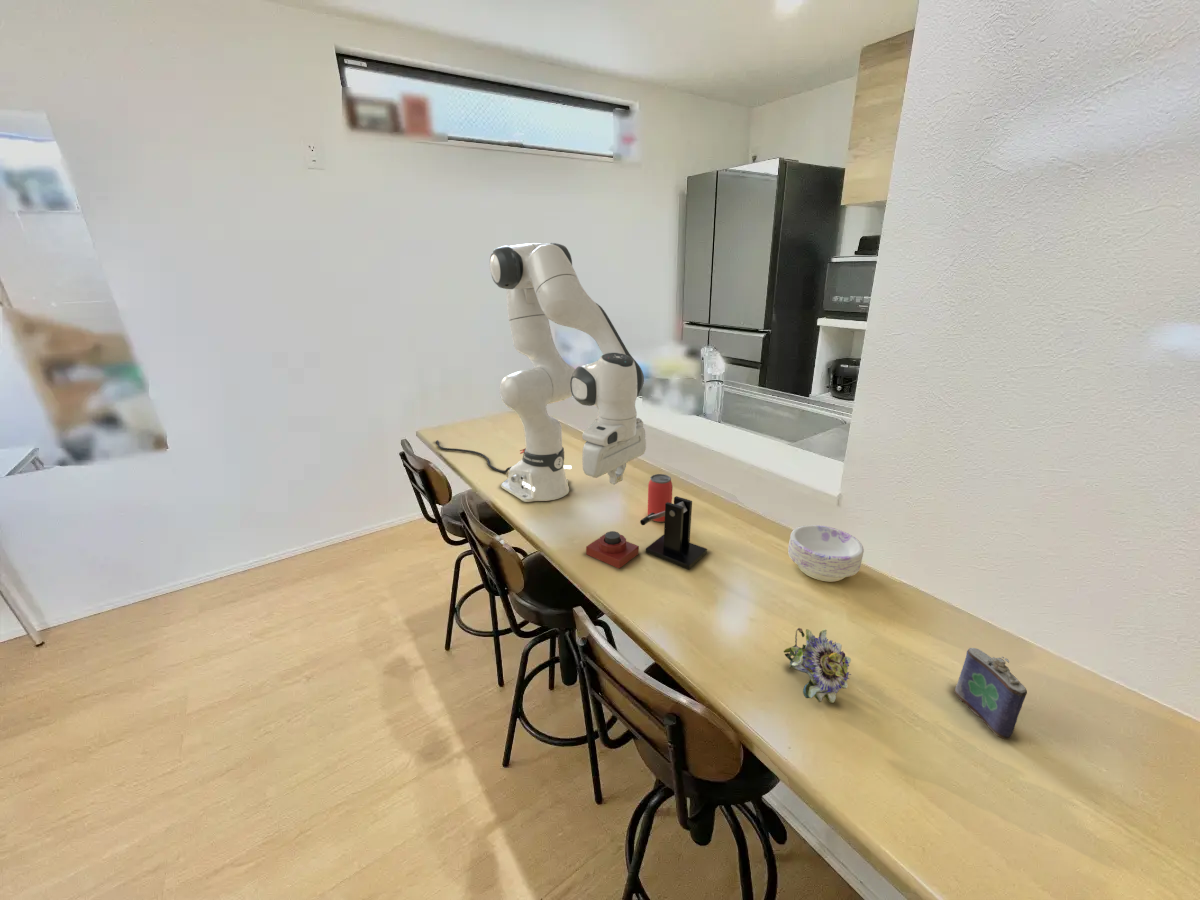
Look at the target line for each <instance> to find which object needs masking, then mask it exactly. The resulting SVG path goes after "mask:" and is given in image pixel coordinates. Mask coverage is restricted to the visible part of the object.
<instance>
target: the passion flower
mask: <svg viewBox="0 0 1200 900" xmlns="http://www.w3.org/2000/svg"><path fill="white" fill-rule="evenodd" d="M827 631H828V630H827V629H826V628H823V629H822V630H821V631H819V634H818V637H816V635H815V634H813V632H812V630H811V629H808V628H806V630H805V632H804V631H803V628H800V627H798V628H797V629H796V631H795V637H794V639H795V641H794V645H793V646H791V647H788V648H785V649H784V650H783V653H784V656H785V657H786V658H787V659H788V660H789V669H793V670H795V671H798V672H800V673H804V674H807V676H808V677H809V680H808V682H807V684H805V685H804V687H803V689H802V693H803V696H804V697H805V699H812V698H813V697H815V698H814V699H816V700H817V702H818V703H822V701H823V698H825V699H826V700H827V702H829V703H830V704H834V703H835V702H836V698H837V693H838V692H839V690H841V689H847V688H848V680H850V678H849V676H851V675H852V674H851V673H850V671H848V670H849V667H850V663H851V662H852V659H851V657H850V656H847V655H846V653H845V652H844V650H842V647H843V644H841V643H840V642H836V641H835V642H833V640H832V639H830V640H829V638H828V637H827ZM798 632H799V633H800V635H801V637H802V638H804V637H805V644H804V643H803V644H802V646H801V647H800V646H798V638H797V637H798ZM828 640H829V641H828Z"/></svg>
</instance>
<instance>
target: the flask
mask: <svg viewBox="0 0 1200 900" xmlns="http://www.w3.org/2000/svg"><path fill="white" fill-rule="evenodd" d="M1007 663H1010V660H1009V658H1006V657H1004V656H1001V657H995V656H990V655H989V654H987V653H986V652H984V651H983V650H981V649H979V648H975V647H969V648H968V649H967V651H966V654H965V659H964V662H963V665H962V669H961V671H960V674H959V677H958V680H957V683H956V685H955V689H954V693H955V695H956V697H957V698H958V699H959V701H960V702H963V703H964V704H965V705H966V706H967V708H968V709H969V710H970V711H971V712H972V713H973V714H974V715H976V716H977V717H979V718H980V721H981V722H983V723H985V724H986V725H987V728H989V729H990V730H991V731H992V732H993V734H994V735H995V736H997V737H1000V738H1001V739H1003V740H1010V739H1011V738H1012V735H1013V733H1014V730H1015V727H1016V725H1017V722H1018V718H1019V716H1020V712H1021V710H1022V707H1023V704H1024V702H1025V699H1026V696H1027V694H1028V690H1027V688H1026V687H1025V685H1024V684H1023V683H1021V681H1019V679H1018V678H1017V677H1016V676H1015V674H1013V673H1012V672H1011V669H1010V668H1009V667H1008V666H1007V665H1006V664H1007Z"/></svg>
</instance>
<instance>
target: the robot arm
mask: <svg viewBox="0 0 1200 900" xmlns="http://www.w3.org/2000/svg"><path fill="white" fill-rule="evenodd" d="M572 259H573V258H572V255H571V253H570V251H569V249H568V248H567V247H566V246H565V245H563V244H561V243H557V242H550V243H546V242H528V243H520V244H513V245H508V244H507V245H506V244H505V245H502V246H499V247H496V248H494V249H493V250H492V252H491V254H490V257H489V271H490V275H491V278H492V281H493V282H494V284H495V285H496V286H497V287H498V288H500V289H504V290H506V309H507V316H508V323H509V328H510V332H511V338H512V343H513V347H514V349H515V350H516V351H517V352H518V353H519V354H521V355H523V356H526V357H527V358H528V359H529V361H530V362H531V364H532V367H533V368H527V369H520V370H517V371H514V372H512V373H509V374H507V375H505V376H504V377H503V378H502V379H501V380H500V384H499V390H498V391H499V396H500V398H501V401H502V403H503V404H504V405H505V406H506V407H507V408H508V409H510V410H511V411H513V412H514V413H515V414H516V415H517V417H518V418H519V419H520V422H521V424H522V426H523V433H524V443H525V448H523V449H520V450H519V454H520V455H521V454H523V455H522V458H521V459H520V460H518V462H516V463H515V464H514V465H512V466H509V467H506V469H505V470H504V469H503V470H501V469H499V468H496V467H495V466H493V465H492V464H491V463H490V459H489V458H488V457H487V456H486V455H485V454H484V453H482V452H479V451H475V450H470V449H464V448H463V449H461V448H450V447H443V446H441V445H440V442H439V440H438V439H437V440H436V441H435V444H436V445H437V447H438V448H439V449H441V450H443V451H451V452H452V451H454V452H455V451H456V452H463V453H470V454H475V455H478V456H481V457H483V458H484V459H485V460H486V462H487V465H488V467H489V469H492V470H494V471H495V472H498V473H502V474H506V473H508V474H507V479H505V480H503V482H502V483H501V484H500V487H501V488H502V489H503V490H505V491H506V492H508V493H510V494H511V495H513V496H514V497H516V498H517V499H519V500H521V501H522V502H523V503H531V502H548V501H549V502H550V501H555V500H558V499H559V500H560V499H561V498H563V497H565V496H567V495H568V494H569V492H570V487H569V480H568V478H567V472H566V469H567V470H571V469H572V465H565V449H564V446H563V430H562V429H563V427H562V424H561V422H560V421H559V420H558V419H557V418H555V417H554V416H551V415H550V414H549V413H548V410H547V406H548V405H550V404H554V403H558V402H562V401H565V400H567V399H569V398H571V397H573V399H574V400H575V401H576V402H578V404H581V405H582V406H586V407H587V406H588V407H593V406H595V407H596V408H597V418H596V419H595V420H594V421H593V422H592V423H591V424H590V425H589V426H588V427H587V428H585V430H584V431H583V432H582V440H583V441H584V442H585V443H584V444H583V447H582V458H581V459H582V471H583V473H584V475H585V476H587V477H590V478H594V479H598V478H599V477H603V476H604V475H605V474H607V475H608V478H609V480H608V481H609V483H610V484H612V485H616V484H619V483H620V482H623V480H624V473H625V471H626V468H627V463H629V462H631V461H632V460H635V459H637V458H639V457H641V456H643V455H645V452H646V450H647V438H646V437H647V436H646V435H647V434H646V429H645V427H644V421H643V420H642V419H641V418H639V417H637V415H638V413H637V409H636V401H637V398H638V396H639V395H640V393H641V391H642V389H643V387H644V382H645V376H644V373H643V370H642V367H641V366H640V365H639V363H638V362H637V361H636V360H635V358H634V357H633V356H632V355H631V353H630V351H629V350H628V348H627V347H626V345H625V343H624V342H623V340H622V338H621V336H620V335H619V333H618V331H617V329H616V328H615V326H614V325H613V323H612V320H611V319H610V318H609V316H608V314H607V313H606V310H604V308H603V307H602V306H601V305H600V304H599V303H597V302H596V301H594V299H592V298H591V296H590V295H589V294H588V292H586V290H585V289H584V288H583V286H582V284H581V283H580V280H579V278H578V275H577V272H576V270H575V268H574V266H573V260H572ZM550 321H551V322H553V323H555V324H557V325H559V326H561V327H562V326H563V327H568V328H572V329H574V330H577V331H580V332H583V333H586V334H587V335H589V336H590V337H591V338H592V339H593V340H594V341H595V343H596V345H597V347H598V348H599V350H600V351H601V354H602V355H601V356H600V357H599V358H598V359H597V360H595V361H593V362H590V363H586V364H582V365H580V366H577V367H576V368H574V367H573V366H572V365H570V364H569V363H568V362H567V361H566V360H564V358H563V357H562V356H561V354H560V353H559V350H558V349H557V347H556V344H555V342H554V338H553V334H552V330H551V325H550Z"/></svg>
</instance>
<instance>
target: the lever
mask: <svg viewBox="0 0 1200 900" xmlns="http://www.w3.org/2000/svg"><path fill="white" fill-rule="evenodd" d="M675 505H679V506H682V507H684V513H685V512H686V511H687V508H686V506H685V504H684V502H680V503H677V504H675ZM663 516H665V511H663V512H660V513H657V514H655V513H651V514H649V515H648V514H647V515H646V516H645V517H644V518H642V519H641V520H640V521H639V523H640V525H641V526H645V525H647V524H649V523H650V522H651V521H653V520H654V519H657V518H660V517H663Z"/></svg>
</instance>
